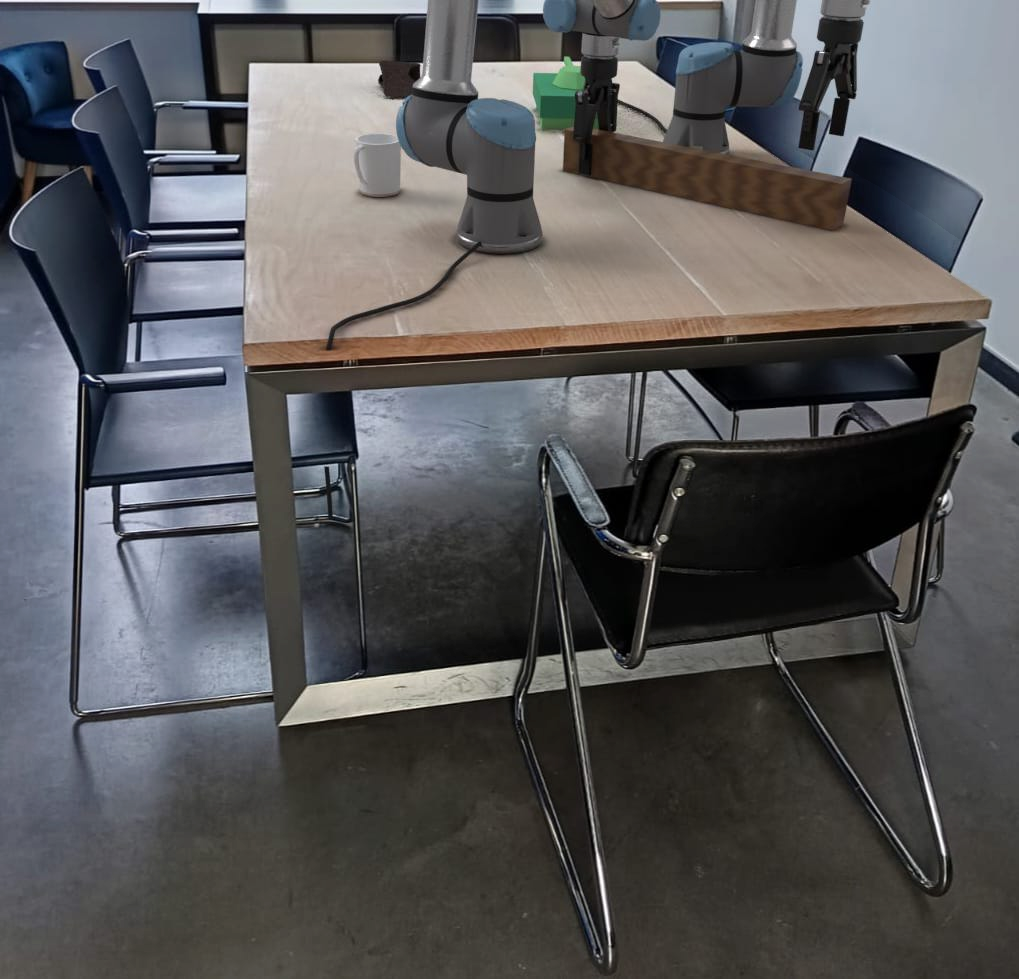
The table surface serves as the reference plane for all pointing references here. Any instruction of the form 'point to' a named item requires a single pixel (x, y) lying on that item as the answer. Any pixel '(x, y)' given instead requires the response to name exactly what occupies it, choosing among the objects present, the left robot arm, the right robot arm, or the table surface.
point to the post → (715, 178)
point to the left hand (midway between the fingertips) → (592, 170)
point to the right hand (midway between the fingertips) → (821, 142)
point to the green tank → (558, 96)
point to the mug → (378, 164)
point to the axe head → (398, 78)
